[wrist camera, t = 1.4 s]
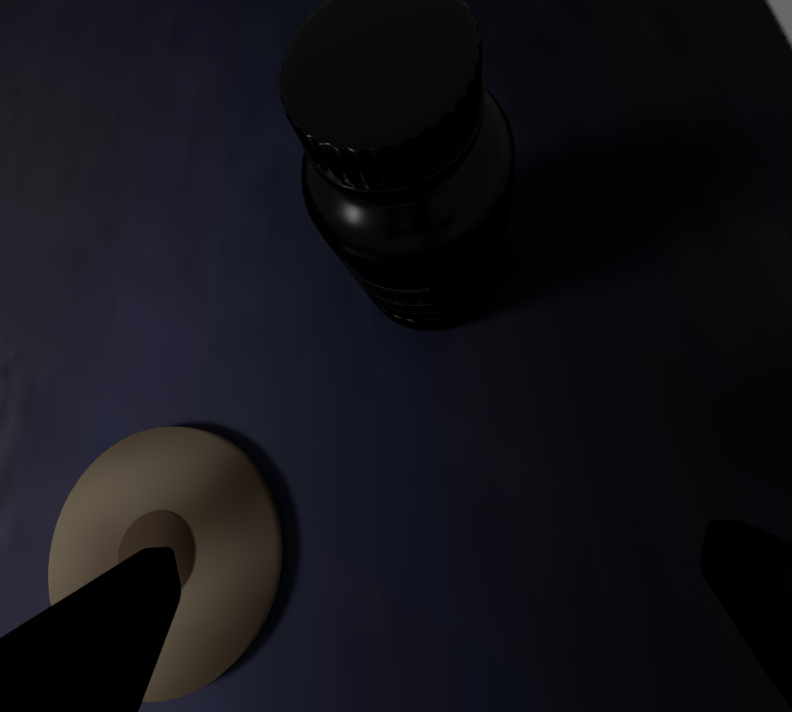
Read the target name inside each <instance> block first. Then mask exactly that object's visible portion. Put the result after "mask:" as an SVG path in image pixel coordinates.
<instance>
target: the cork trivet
mask: <svg viewBox="0 0 792 712" xmlns="http://www.w3.org/2000/svg"><path fill="white" fill-rule="evenodd" d="M148 547H170V548H171V549H172V550H173V551H174V554H175V559H176V564H177V568H178V573H179V578H180V583H181V598H180V602H179V605H178V608H177V610H176V613H175V616H174V618H173V621H172V624H171V626H170V629H169V632H168V634H167V637H166V640H165V642H164V645H163V648H162V650H161V653H160V656H159V659H158V661H157V664H156V667H155V669H154V672H153V675H152V677H151V680H150V683H149V685H148V688H147V691H146V693H145V696H144V698H143V701H144V702H158V701H167V700H172V699H176V698H181V697H183V696H186V695H188V694H191V693H193V692H195V691H197V690H199V689H201V688H202V687H204V686H206V685H207V684H209V683H211V682H212V681H213V680H215V679H216V678H217V677H218V676H220V675H221V674H222V673H223V672H225V671H226V670H227V669H228V668H229V667H230V666H231V665H232V664H233V663H234V662H235V661H236V660H237V659H238V658H239V657H240V656H241V655H242V654H243V653H244V652H245V651H246V650H247V649H248V647H249V646H250V645H251V643H252V642H253V641H254V639H255V638H256V636H257V635H258V633H259V632H260V630H261V628H262V626H263V624H264V623H265V621H266V619H267V617H268V614H269V612H270V610H271V607H272V605H273V602H274V599H275V596H276V592H277V589H278V585H279V580H280V574H281V568H282V554H283V541H282V528H281V523H280V517H279V512H278V509H277V505H276V502H275V499H274V496H273V494H272V491H271V489H270V487H269V485H268V483H267V481H266V479H265V477H264V476H263V474H262V473H261V471H260V469H259V468H258V467H257V465H256V464H255V463H254V462H253V461H252V459H251V458H250V457H249V456H248V455H247V454H246V453H245V452H244V451H243V450H241V449H240V448H239V447H238V446H237V445H235V444H234V443H232V442H231V441H229V440H228V439H226V438H224V437H222V436H220V435H218V434H215V433H213V432H210V431H206V430H203V429H197V428H190V427H159V428H153V429H148V430H145V431H142V432H139V433H136V434H133V435H131V436H129V437H127V438H125V439H123V440H121V441H120V442H118V443H117V444H115V445H113V446H112V447H110V448H109V449H108V450H107V451H105V452H104V453H103V454H102V455H100V456H99V457H98V458H97V459H96V460H95V461H94V462H93V463H92V464H91V465H90V466H89V467H88V468H87V470H86V471H85V472H84V474H83V475H82V476H81V477H80V479H79V480H78V481H77V483H76V485H75V486H74V488H73V490H72V491H71V493H70V494H69V496H68V498H67V500H66V502H65V504H64V507H63V509H62V511H61V514H60V516H59V519H58V522H57V524H56V528H55V532H54V536H53V539H52V544H51V551H50V557H49V572H48V581H49V596H50V602H51V606H52V605H54V604H55V603H57V602H59V601H60V600H62V599H63V598H65V597H67V596H68V595H70V594H71V593H73V592H75V591H76V590H78V589H79V588H81V587H82V586H84V585H86V584H87V583H89V582H90V581H92V580H94V579H95V578H97V577H98V576H100V575H102V574H103V573H105V572H106V571H108V570H110V569H111V568H113V567H114V566H116V565H118V564H119V563H121V562H122V561H124V560H126V559H127V558H129V557H130V556H132V555H133V554H135V553H137V552H138V551H140V550H142V549H144V548H148Z"/></svg>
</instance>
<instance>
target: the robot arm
mask: <svg viewBox="0 0 792 712" xmlns="http://www.w3.org/2000/svg"><path fill="white" fill-rule="evenodd" d="M700 566H701V570H702V573H703V575H704V577H705V579H706V581H707V582H708V584H709V585H710V587H711V588H712V590H713V592H714V593H715V595H716V596H717V598H718V599H719V601H720V603H721V604H722V606H723V607H724V609H725V610H726V612H727V613H728V615H729V617H730V618H731V620H732V621H733V623H734V624H735V626H736V628H737V629H738V631H739V632H740V634H741V635H742V637H743V638H744V640H745V642H746V643H747V645H748V646H749V648H750V649H751V651H752V653H753V654H754V656H755V657H756V659H757V660H758V662H759V663H760V665H761V666H762V668H763V669H764V671H765V672H766V674H767V675H768V677H769V678H770V680H771V681H772V682H773V684H774V685H775V686H776V688H777V689H778V691H779V692H780V693H781V695H782V696H783V697H784V699H785V700H786V701H787V703H788V704H789V705H790V707H791V708H792V542H790V541H788V540H785V539H783V538H780V537H778V536H775V535H773V534H770V533H768V532H766V531H763V530H761V529H758V528H756V527H753V526H751V525H748V524H746V523H744V522H741V521H737V520H719V521H712V522H710V523H709V524H708V526H707V527H706V531H705V537H704V542H703V548H702V553H701V558H700ZM180 598H181V583H180V578H179V573H178V568H177V564H176V559H175V554H174V551H173V550H172V549H171V548H170V547H148V548H144V549H142V550H140V551H138V552H137V553H135V554H133V555H132V556H130V557H129V558H127V559H126V560H124V561H122V562H121V563H119V564H118V565H116V566H114V567H113V568H111V569H110V570H108V571H106V572H105V573H103V574H102V575H100V576H98V577H97V578H95V579H94V580H92V581H90V582H89V583H87V584H86V585H84V586H82V587H81V588H79V589H78V590H76V591H75V592H73V593H71V594H70V595H68V596H67V597H65V598H63V599H62V600H60V601H59V602H57V603H55V604H54V605H52V606H51V607H49V608H47V609H46V610H44V611H43V612H41V613H39V614H38V615H36V616H35V617H33V618H31V619H30V620H28V621H27V622H25V623H23V624H22V625H20V626H19V627H17V628H16V629H14V630H12V631H11V632H9V633H8V634H6V635H4V636H3V637H1V638H0V712H138V710H139V708H140V706H141V703H142V701H143V698H144V696H145V693H146V691H147V688H148V685H149V683H150V680H151V677H152V675H153V672H154V669H155V667H156V664H157V661H158V659H159V656H160V653H161V650H162V648H163V645H164V642H165V640H166V637H167V634H168V632H169V629H170V626H171V624H172V621H173V618H174V616H175V613H176V610H177V608H178V605H179V602H180Z"/></svg>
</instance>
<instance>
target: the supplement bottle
mask: <svg viewBox="0 0 792 712" xmlns="http://www.w3.org/2000/svg"><path fill="white" fill-rule="evenodd" d="M286 52H287V54H286V56H285V58H284V59H283V61H282V63H281V65H282V73H281V75H280V78H279V82H280V85H281V93H280V98H281V101H282V103H283V105H284V107H285V114H286V116H287V118H288V120H289V122H290V124H291V125H292V127H293V129H294V130H295V132H296V134H297V135H298V137H299V139H300V140H301V143H302V146H303V149H304V155H303V161H302V171H301V180H302V191H303V197H304V201H305V204H306V207H307V210H308V213H309V215H310V217H311V219H312V221H313V223H314V224H315V226H316V228H317V229H318V231H319V232H320V234H321V235H322V237H323V238H324V239H325V241H326V242H327V243H328V245H329V246H330V247H331V249H332V250H333V251H334V252H335V254H336V255H337V256H338V258H339V259H340V260H341V261H342V263H343V264H344V265H345V267H346V268H347V269H348V270H349V272H350V273H351V274H352V276H353V277H354V278H355V280H356V281H357V282H358V283H359V285H360V286H361V287H362V289H363V290H364V291H365V292H366V294H367V295H368V296H369V298H370V299H371V300H372V301H373V303H374V304H375V305H376V306H377V307H378V308H379V310H380V311H382V312H383V313H384V314H385V315H386V316H387V317H388V318H390V319H391V320H393V321H394V322H396V323H398V324H400V325H402V326H405V327H408V328H411V329H415V330H423V331H435V330H442V329H447V328H450V327H453V326H456V325H458V324H461V323H463V322H465V321H466V320H468V319H470V318H471V317H473V316H474V315H475V314H476V313H478V312H479V311H480V310H481V309H482V308H483V307H484V306H485V304H486V303H487V302H488V301H489V299H490V298H491V296H492V295H493V293H494V291H495V289H496V286H497V284H498V281H499V278H500V274H501V269H502V264H503V257H504V250H505V242H506V234H507V227H508V219H509V212H510V204H511V197H512V189H513V181H514V172H515V144H514V138H513V134H512V130H511V127H510V124H509V121H508V119H507V116H506V115H505V113H504V111H503V109H502V107H501V106H500V104H499V103H498V102H497V100H496V99H495V97H494V96H493V95H492V94H491V93H490V92H489V91H488V90H487V89H486V88H485V84H484V79H483V75H482V44H481V39H480V37H479V33H478V24H477V22H476V20H475V19H474V18H473V17H472V16H471V12H470V7H469V6H467V5H466V4H464V3H462V2H461V0H329V1H327V2H324V3H322V4H321V5H320V6H319V7H318V9H317V10H316V11H315V12H314V13H312V14H310V15H309V16H308V17H307V18H306V20H305V22H304V24H303V25H302V26H301V27H300V28H299V29H297V30H296V32H295V35H294V39H293V40H292V41H291V43H290V44H289V45H288V46H287V50H286Z"/></svg>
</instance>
